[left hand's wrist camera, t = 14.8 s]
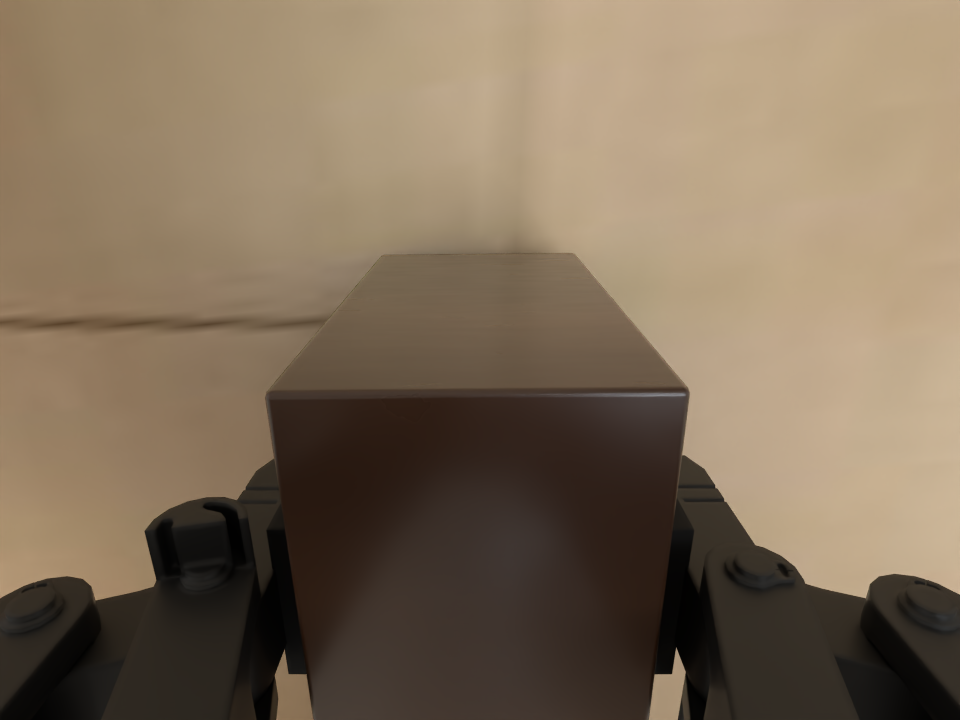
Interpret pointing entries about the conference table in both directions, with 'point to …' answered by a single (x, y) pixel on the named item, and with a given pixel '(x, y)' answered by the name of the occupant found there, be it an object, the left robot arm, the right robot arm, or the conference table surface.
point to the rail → (479, 494)
